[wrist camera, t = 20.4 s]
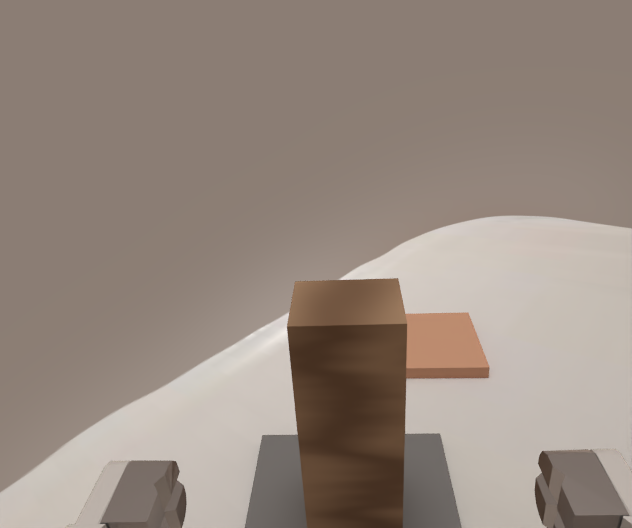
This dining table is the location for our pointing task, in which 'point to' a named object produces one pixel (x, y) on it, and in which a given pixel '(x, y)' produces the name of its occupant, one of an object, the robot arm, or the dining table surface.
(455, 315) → the tile
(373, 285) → the tall wooden block
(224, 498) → the dining table surface
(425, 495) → the rest mat
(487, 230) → the dining table surface
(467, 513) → the dining table surface
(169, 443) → the dining table surface
